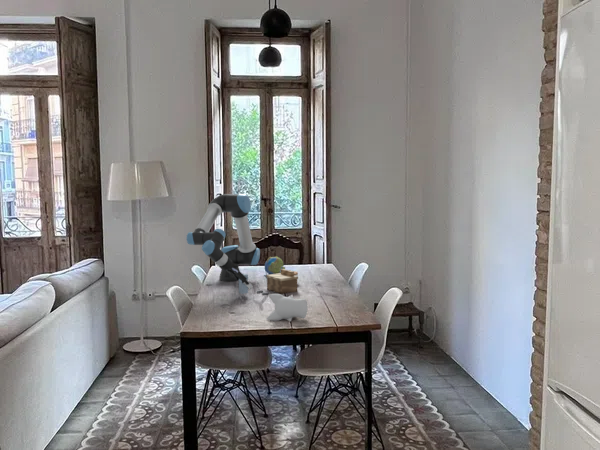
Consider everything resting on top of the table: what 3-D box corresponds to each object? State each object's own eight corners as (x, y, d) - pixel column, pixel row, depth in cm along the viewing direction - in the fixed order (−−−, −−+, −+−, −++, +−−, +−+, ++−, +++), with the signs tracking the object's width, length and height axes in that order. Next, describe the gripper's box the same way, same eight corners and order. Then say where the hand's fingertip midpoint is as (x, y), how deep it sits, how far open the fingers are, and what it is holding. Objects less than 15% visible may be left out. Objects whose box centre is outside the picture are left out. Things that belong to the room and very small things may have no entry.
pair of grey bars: (256, 292, 327) (256, 290, 326) (262, 291, 329) (262, 290, 329) (263, 295, 320) (263, 293, 320) (268, 294, 323) (268, 292, 322)
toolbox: (267, 289, 336) (267, 276, 335) (283, 287, 342) (283, 274, 342) (280, 294, 323) (280, 280, 322) (297, 291, 329) (297, 278, 329)
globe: (265, 252, 388) (272, 256, 374) (284, 257, 395) (292, 261, 381) (259, 271, 388) (267, 275, 374) (279, 275, 395) (287, 280, 381)
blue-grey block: (238, 292, 317) (238, 274, 316) (244, 291, 320) (244, 273, 319) (242, 293, 314) (241, 275, 313) (248, 292, 316) (247, 274, 315)
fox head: (307, 298, 278) (269, 296, 278) (308, 294, 262) (267, 291, 262) (306, 325, 274) (267, 322, 274) (306, 321, 258) (265, 319, 258)
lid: (266, 276, 335) (266, 270, 335) (283, 274, 342) (283, 268, 342) (280, 281, 321) (280, 274, 321) (298, 278, 328) (298, 271, 328)
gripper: (213, 264, 314) (238, 289, 324) (226, 268, 300) (252, 294, 310) (221, 255, 316) (246, 279, 327) (234, 258, 302) (260, 284, 313)
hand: (249, 286), depth 319 cm, fingers closed on blue-grey block, 4 cm apart
